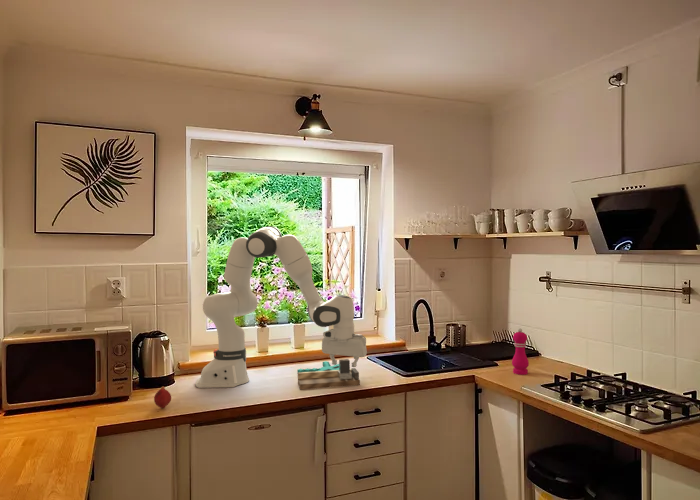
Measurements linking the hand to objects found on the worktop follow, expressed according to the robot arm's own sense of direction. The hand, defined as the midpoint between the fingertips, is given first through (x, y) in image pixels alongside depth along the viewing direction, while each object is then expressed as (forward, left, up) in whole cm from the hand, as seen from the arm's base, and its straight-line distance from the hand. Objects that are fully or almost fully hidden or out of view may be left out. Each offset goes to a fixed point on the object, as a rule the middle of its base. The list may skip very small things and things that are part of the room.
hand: (344, 365), depth 221 cm
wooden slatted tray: (-7, 0, -7) cm, 10 cm away
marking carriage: (0, 0, -5) cm, 5 cm away
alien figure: (-4, +20, -8) cm, 22 cm away
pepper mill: (+79, -4, -8) cm, 80 cm away
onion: (-71, -17, -8) cm, 73 cm away
